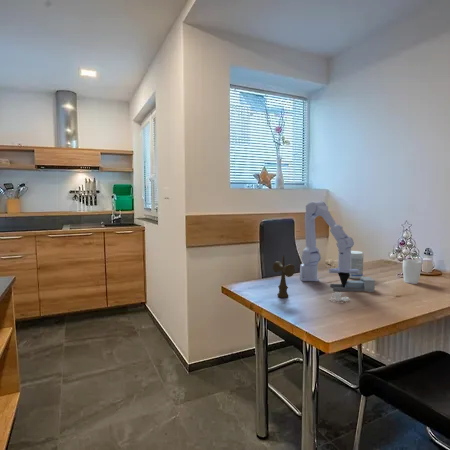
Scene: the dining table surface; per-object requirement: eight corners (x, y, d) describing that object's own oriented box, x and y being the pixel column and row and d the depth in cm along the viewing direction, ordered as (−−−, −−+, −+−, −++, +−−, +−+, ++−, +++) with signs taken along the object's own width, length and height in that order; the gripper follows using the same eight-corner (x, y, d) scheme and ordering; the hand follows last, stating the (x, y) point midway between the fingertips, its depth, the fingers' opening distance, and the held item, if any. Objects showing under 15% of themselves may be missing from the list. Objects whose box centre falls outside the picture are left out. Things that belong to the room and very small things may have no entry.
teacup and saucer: (350, 300, 145) (350, 292, 145) (347, 306, 139) (347, 297, 138) (330, 297, 150) (330, 289, 149) (326, 302, 143) (327, 293, 143)
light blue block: (346, 290, 159) (347, 282, 159) (344, 287, 163) (345, 280, 163) (371, 290, 158) (371, 283, 158) (368, 288, 162) (369, 281, 161)
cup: (415, 280, 177) (416, 259, 176) (423, 284, 168) (425, 262, 167) (398, 279, 178) (399, 258, 177) (406, 284, 169) (407, 262, 168)
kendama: (285, 300, 144) (286, 257, 142) (271, 295, 152) (271, 254, 150) (294, 298, 147) (295, 256, 145) (280, 292, 155) (281, 252, 153)
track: (333, 290, 158) (333, 279, 158) (330, 286, 165) (330, 275, 165) (374, 291, 156) (375, 280, 156) (369, 287, 163) (369, 276, 163)
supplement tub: (365, 277, 184) (366, 252, 182) (358, 280, 177) (359, 254, 175) (349, 273, 191) (350, 249, 189) (341, 276, 184) (342, 252, 182)
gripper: (331, 262, 156) (330, 289, 158) (361, 263, 155) (360, 289, 156) (328, 259, 163) (327, 284, 165) (357, 259, 162) (356, 285, 163)
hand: (343, 287), depth 161 cm, fingers closed
